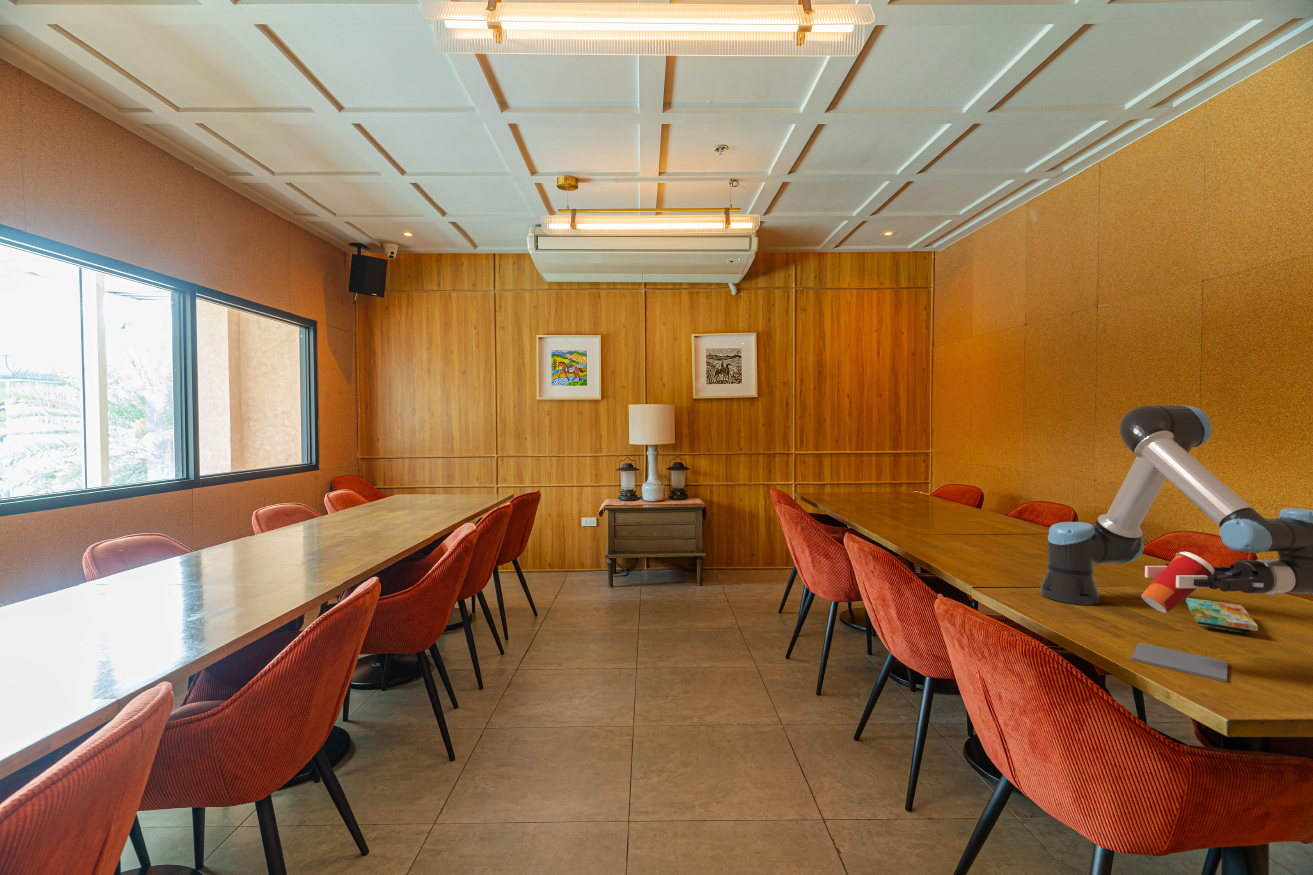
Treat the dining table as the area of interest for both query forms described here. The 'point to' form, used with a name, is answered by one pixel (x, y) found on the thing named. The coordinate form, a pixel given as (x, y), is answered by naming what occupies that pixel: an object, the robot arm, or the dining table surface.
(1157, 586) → the paper cup
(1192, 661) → the mat
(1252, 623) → the puzzle game
